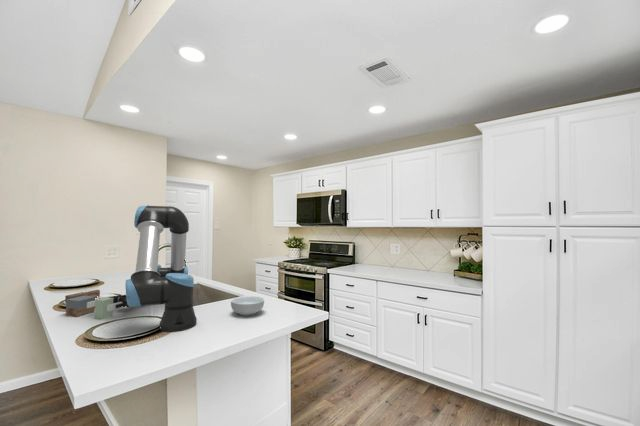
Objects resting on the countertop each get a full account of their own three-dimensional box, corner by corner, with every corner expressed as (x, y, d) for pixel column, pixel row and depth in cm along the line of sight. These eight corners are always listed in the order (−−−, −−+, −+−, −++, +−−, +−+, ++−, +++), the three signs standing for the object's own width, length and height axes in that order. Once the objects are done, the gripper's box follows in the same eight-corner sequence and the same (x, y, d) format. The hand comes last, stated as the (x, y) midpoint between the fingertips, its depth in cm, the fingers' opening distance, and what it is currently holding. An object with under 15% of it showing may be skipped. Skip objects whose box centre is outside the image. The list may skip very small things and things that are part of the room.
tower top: (94, 304, 147) (95, 296, 148) (78, 309, 140) (78, 300, 140) (82, 303, 149) (83, 295, 149) (65, 307, 141) (66, 299, 142)
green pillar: (112, 316, 141) (113, 298, 141) (102, 319, 136) (103, 300, 137) (105, 315, 143) (105, 297, 143) (94, 318, 138) (95, 299, 138)
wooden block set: (63, 294, 161) (97, 287, 178) (62, 304, 161) (97, 296, 178) (82, 297, 155) (116, 290, 172) (82, 307, 155) (115, 299, 172)
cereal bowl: (270, 312, 152) (270, 298, 152) (247, 321, 138) (247, 306, 138) (247, 306, 161) (248, 294, 161) (223, 314, 147) (224, 300, 147)
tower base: (94, 312, 147) (94, 304, 147) (77, 317, 139) (77, 309, 139) (83, 311, 149) (83, 303, 149) (65, 315, 142) (66, 307, 142)
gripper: (155, 305, 153) (116, 317, 133) (120, 300, 160) (78, 311, 140) (155, 291, 153) (117, 301, 133) (120, 287, 161) (79, 296, 140)
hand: (97, 306), depth 137 cm, fingers open, 13 cm apart
